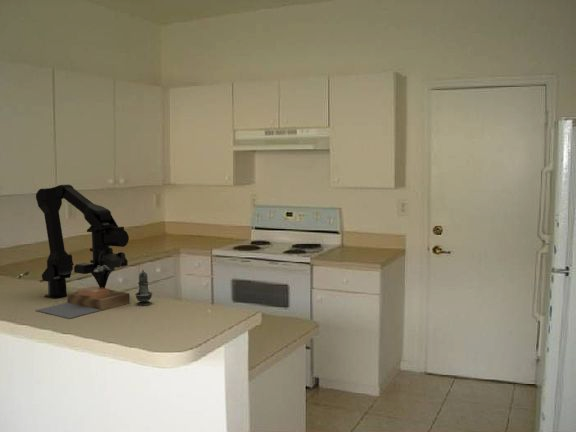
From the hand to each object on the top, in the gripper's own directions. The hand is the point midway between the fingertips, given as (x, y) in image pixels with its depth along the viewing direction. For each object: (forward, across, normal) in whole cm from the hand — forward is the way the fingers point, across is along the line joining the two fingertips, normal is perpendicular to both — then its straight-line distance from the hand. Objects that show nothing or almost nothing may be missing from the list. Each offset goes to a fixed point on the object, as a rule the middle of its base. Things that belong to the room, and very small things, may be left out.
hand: (102, 289), depth 202 cm
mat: (+4, -14, 0) cm, 15 cm away
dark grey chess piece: (+5, +6, -14) cm, 16 cm away
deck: (+4, -2, 0) cm, 5 cm away
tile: (+1, -4, 0) cm, 4 cm away
